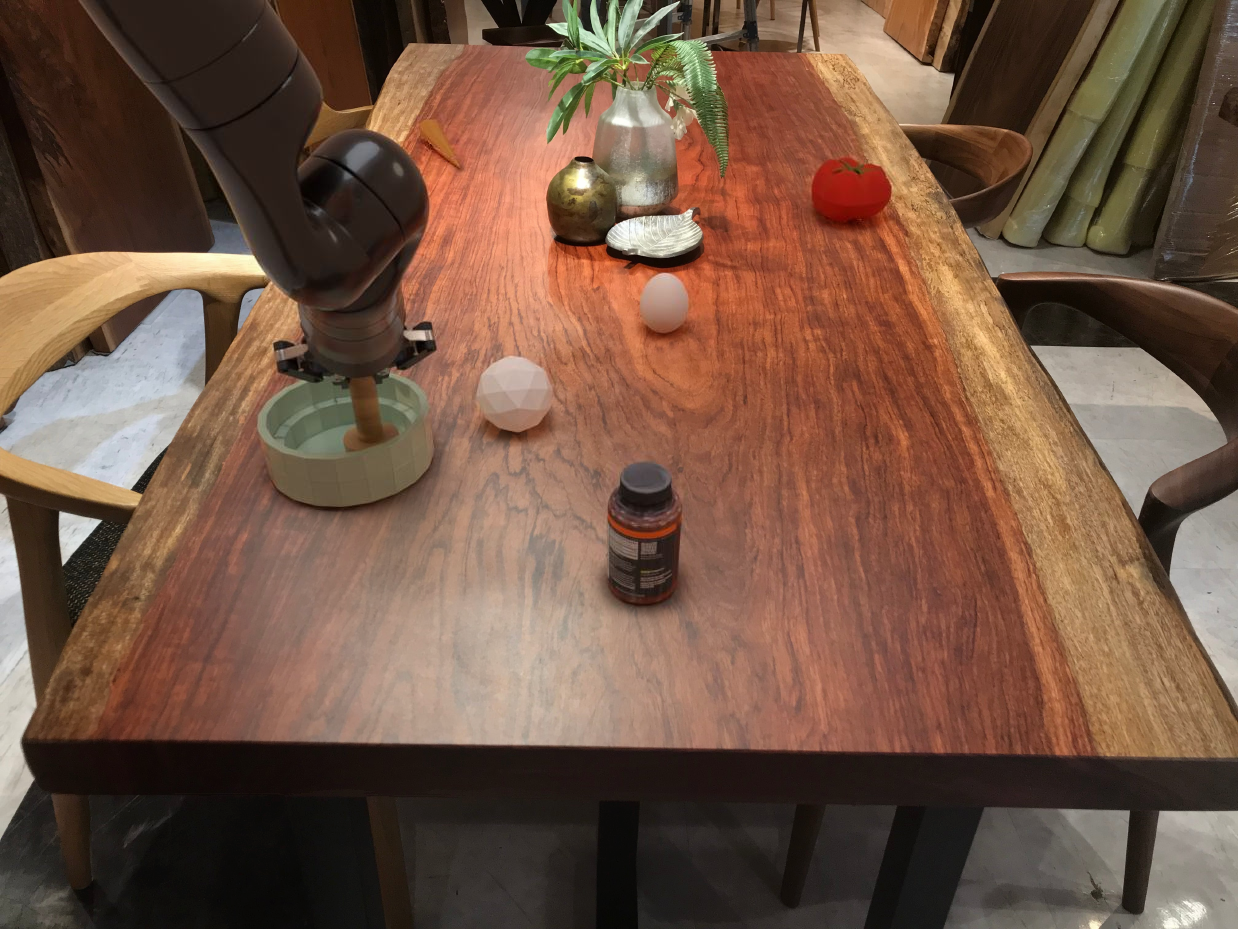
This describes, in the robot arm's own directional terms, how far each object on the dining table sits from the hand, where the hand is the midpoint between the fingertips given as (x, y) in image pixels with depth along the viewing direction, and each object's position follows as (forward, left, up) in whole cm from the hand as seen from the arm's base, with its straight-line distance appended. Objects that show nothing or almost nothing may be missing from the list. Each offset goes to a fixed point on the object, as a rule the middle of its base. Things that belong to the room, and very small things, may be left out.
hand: (360, 376), depth 84 cm
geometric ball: (+11, +10, -9) cm, 18 cm away
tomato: (+35, +85, -9) cm, 93 cm away
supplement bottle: (+31, -8, -9) cm, 33 cm away
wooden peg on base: (+1, -2, -7) cm, 8 cm away
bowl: (-1, -2, -9) cm, 9 cm away
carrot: (-41, +88, -9) cm, 98 cm away
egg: (+19, +36, -9) cm, 42 cm away
